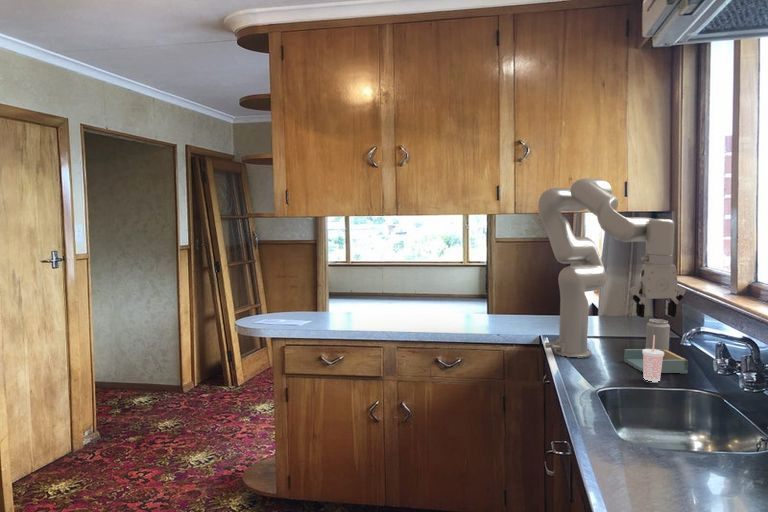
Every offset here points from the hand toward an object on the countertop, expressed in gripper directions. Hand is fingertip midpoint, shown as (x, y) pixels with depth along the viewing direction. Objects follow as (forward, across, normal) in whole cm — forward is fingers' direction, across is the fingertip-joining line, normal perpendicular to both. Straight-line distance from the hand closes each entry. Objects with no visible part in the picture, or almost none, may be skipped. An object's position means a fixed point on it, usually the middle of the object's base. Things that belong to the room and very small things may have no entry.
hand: (655, 316), depth 177 cm
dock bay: (+20, +8, +13) cm, 25 cm away
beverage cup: (+20, 0, 0) cm, 20 cm away
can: (+20, +18, +30) cm, 40 cm away
